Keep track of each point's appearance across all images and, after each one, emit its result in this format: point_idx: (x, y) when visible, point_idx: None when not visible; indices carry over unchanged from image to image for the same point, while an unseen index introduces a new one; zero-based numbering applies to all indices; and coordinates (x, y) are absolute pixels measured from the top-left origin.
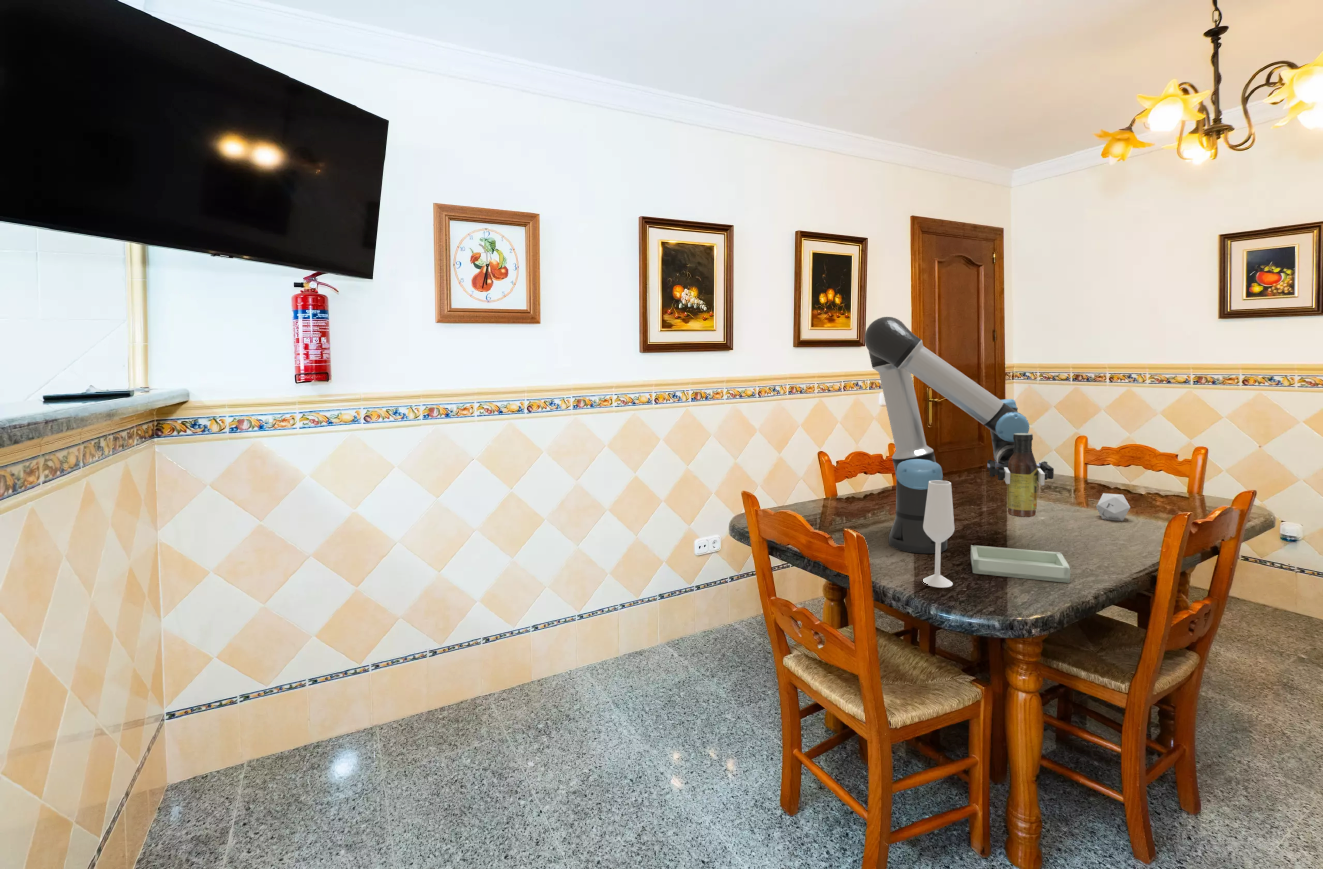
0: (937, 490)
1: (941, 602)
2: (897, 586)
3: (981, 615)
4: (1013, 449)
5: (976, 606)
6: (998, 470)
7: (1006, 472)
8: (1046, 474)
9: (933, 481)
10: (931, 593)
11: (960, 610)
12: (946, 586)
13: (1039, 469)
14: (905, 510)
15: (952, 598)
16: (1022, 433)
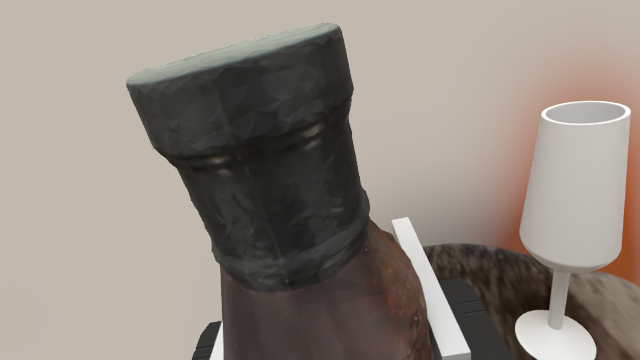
0: (563, 120)
1: (487, 258)
2: (597, 281)
3: (423, 247)
4: (368, 199)
5: (437, 267)
6: (510, 355)
7: (411, 225)
8: (213, 325)
9: (624, 116)
10: (522, 280)
11: (451, 248)
12: (519, 318)
13: (222, 349)
14: None
15: (481, 277)
16: (227, 50)
